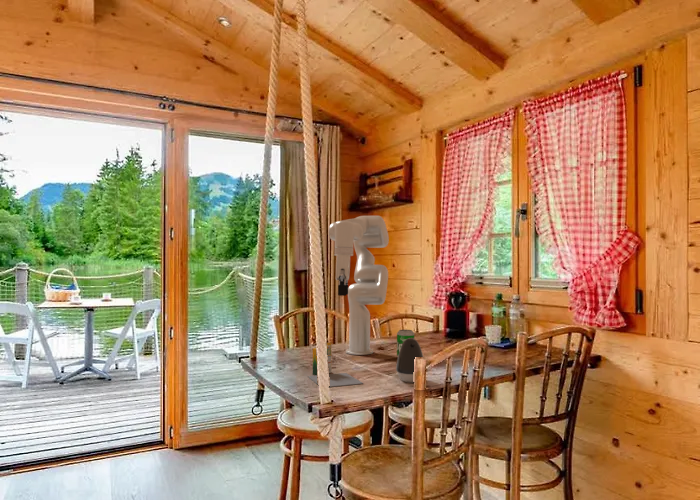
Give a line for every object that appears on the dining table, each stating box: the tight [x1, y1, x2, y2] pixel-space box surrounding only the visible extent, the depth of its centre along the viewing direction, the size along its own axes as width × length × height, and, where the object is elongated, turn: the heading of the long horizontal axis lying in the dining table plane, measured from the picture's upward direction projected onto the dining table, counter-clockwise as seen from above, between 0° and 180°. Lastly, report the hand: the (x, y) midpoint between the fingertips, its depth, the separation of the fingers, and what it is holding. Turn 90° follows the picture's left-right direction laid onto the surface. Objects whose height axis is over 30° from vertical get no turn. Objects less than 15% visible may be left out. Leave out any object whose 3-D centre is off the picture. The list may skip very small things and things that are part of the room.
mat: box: [307, 372, 364, 388], centre depth 175 cm, size 16×15×1 cm
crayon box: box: [312, 341, 332, 376], centre depth 185 cm, size 7×3×12 cm, turn 136°
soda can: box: [396, 329, 415, 357], centre depth 214 cm, size 8×8×12 cm
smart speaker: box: [395, 338, 424, 384], centre depth 176 cm, size 10×10×15 cm
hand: (343, 295), depth 197 cm, fingers open, 9 cm apart
